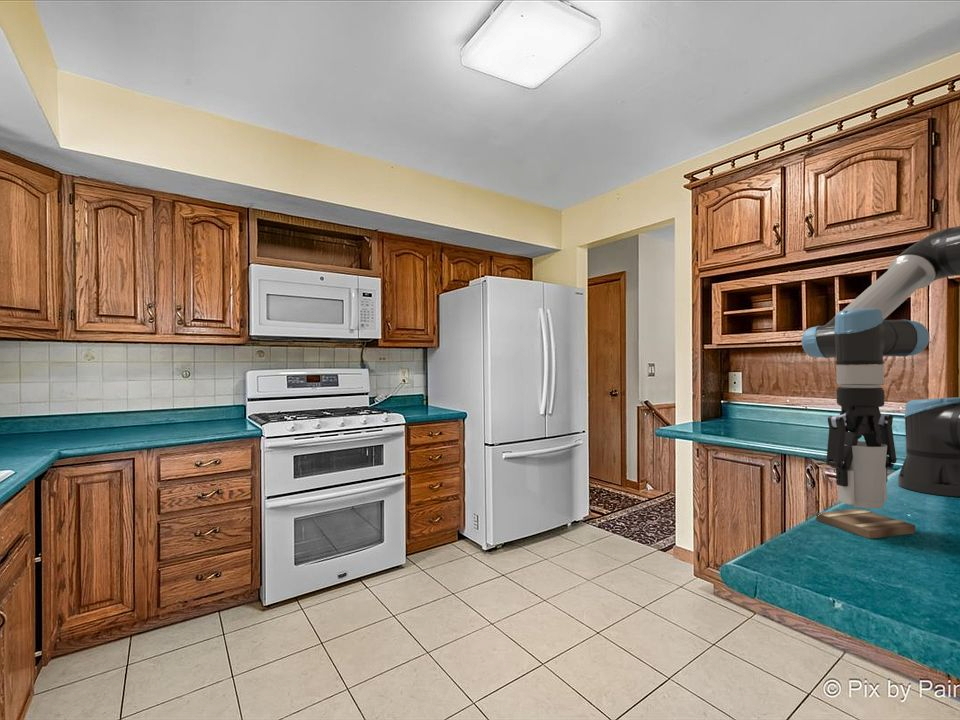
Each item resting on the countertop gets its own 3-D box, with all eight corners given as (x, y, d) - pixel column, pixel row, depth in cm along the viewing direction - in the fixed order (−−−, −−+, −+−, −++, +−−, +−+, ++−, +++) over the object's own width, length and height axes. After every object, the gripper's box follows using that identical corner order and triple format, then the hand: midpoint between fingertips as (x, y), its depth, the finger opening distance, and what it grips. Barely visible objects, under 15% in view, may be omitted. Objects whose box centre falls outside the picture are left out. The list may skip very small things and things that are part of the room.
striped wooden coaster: (858, 515, 102) (857, 507, 102) (915, 532, 92) (915, 524, 92) (816, 520, 100) (815, 512, 100) (869, 538, 89) (869, 529, 89)
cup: (838, 496, 101) (837, 439, 102) (888, 502, 96) (886, 442, 96) (836, 505, 95) (835, 444, 95) (889, 512, 90) (887, 448, 90)
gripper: (879, 384, 102) (882, 492, 102) (801, 386, 97) (804, 499, 97) (919, 385, 95) (922, 501, 94) (836, 388, 90) (839, 510, 90)
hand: (862, 500), depth 96 cm, fingers closed on cup, 7 cm apart
